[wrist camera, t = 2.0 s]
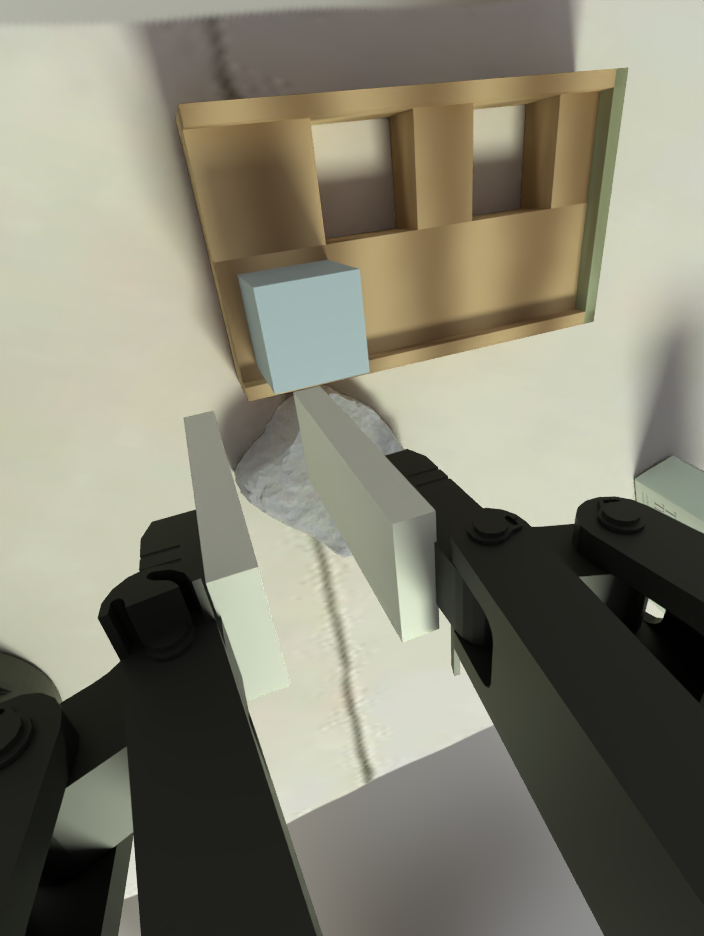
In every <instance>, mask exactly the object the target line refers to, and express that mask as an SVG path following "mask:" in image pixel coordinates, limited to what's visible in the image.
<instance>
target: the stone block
mask: <svg viewBox="0 0 704 936" xmlns="http://www.w3.org/2000/svg"><path fill="white" fill-rule="evenodd" d="M318 386H320V387H321V388H322V389H323V390H324V391H325V392H326V393H327V394H328V395H329V396H330V397H331V398H332V399H333V401H334V402H335V403H336V404H337V405H338V406H339V407H340V408H341V409H342V410H343V411H344V412H345V414H346V415H347V416H348V417H349V418H350V419H351V420H352V421H353V422H354V423H355V424H356V425H357V426H358V428H359V429H360V430H361V431H362V432H363V433H364V434H365V435H366V436H367V437H368V438H369V439H370V440H371V442H372V443H373V444H374V445H375V446H376V447H377V448H378V449H379V450H380V451H381V452H382V453H383V454H384V455H388V454H392V453H395V452H399V451H402V450H405V449H403V448H402V446H401V445H400V443H399V441H398V440H397V438H396V437H395V435H394V433H393V432H392V431H391V429H390V428H389V427H388V425H387V424H386V423H385V422H384V421H383V420H382V419H381V418H380V417H379V415H378V414H377V413H376V412H375V411H374V410H373V409H372V408H371V407H369V406H367V405H365V404H362V403H361V402H360V401H358V400H356V399H354V398H353V397H350V396H347V395H344V394H341V393H339V392H337V391H336V390H334V389H333V388H331V387H330V386H327V385H324V384H322V385H318ZM318 386H313V387H309V388H314V387H318ZM309 388H305V389H309ZM305 389H300V390H297V391H301V390H305ZM235 477H236V483H237V485H238V486H239V488H240V490H241V493H242V494H243V495H244V496H245V497H246V499H247V500H248V501H249V502H250V503H251V504H253V505H254V506H256V507H257V508H259V509H260V510H262V511H263V512H264V513H266V514H267V515H269V516H271V517H273V518H274V519H276V520H279V521H281V522H282V523H284V524H286V525H288V526H290V527H292V528H294V529H297V530H300V531H302V532H305V533H307V534H309V535H311V536H313V537H314V538H316V539H317V540H318V541H320V542H322V543H324V544H325V545H326V546H328V547H329V548H330V549H331V550H332V551H334V552H335V553H336V554H338V555H340V556H342V557H349V556H352V553H351V551H350V549H349V548H348V546H347V544H346V542H345V541H344V539H343V537H342V535H341V534H340V532H339V530H338V528H337V527H336V525H335V523H334V521H333V520H332V518H331V516H330V514H329V513H328V511H327V509H326V507H325V506H324V504H323V502H322V500H321V498H320V497H319V495H318V493H317V491H316V490H315V488H314V486H313V484H312V483H311V481H310V479H309V476H308V470H307V465H306V459H305V454H304V448H303V443H302V438H301V432H300V427H299V421H298V416H297V410H296V405H295V400H294V394H293V395H291V396H290V397H289V398H288V399H286V400H285V401H283V402H282V404H280V405H279V406H278V407H277V409H276V411H275V413H274V414H273V416H272V418H271V420H270V421H269V422H268V423H267V425H266V428H265V431H264V432H263V434H262V435H261V436H260V437H259V438H258V439H257V440H256V441H255V442H254V443H253V444H252V445H251V446H250V448H249V449H248V451H247V452H246V453H245V455H244V456H243V458H242V459H241V461H240V462H239V463H238V464H237V467H236V469H235Z"/></svg>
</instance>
